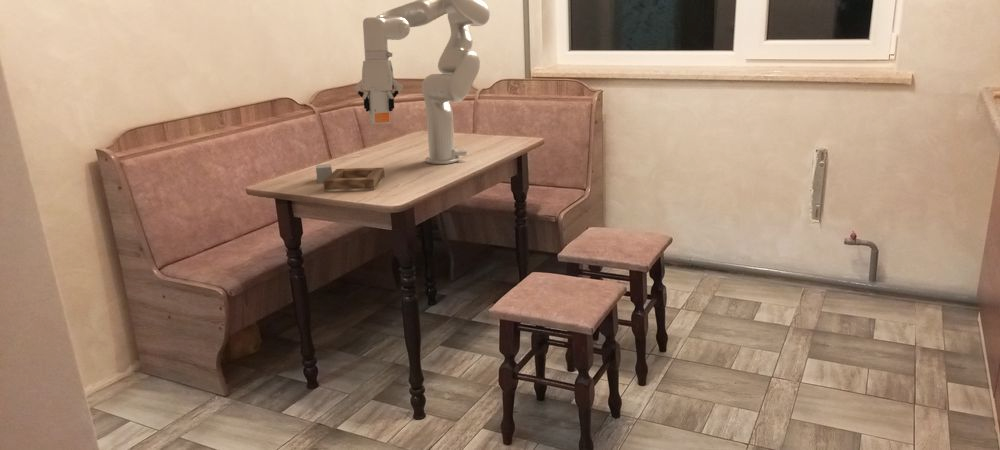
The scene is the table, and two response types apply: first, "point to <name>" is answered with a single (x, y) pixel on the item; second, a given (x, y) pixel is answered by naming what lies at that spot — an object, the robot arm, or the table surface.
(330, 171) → the grey cube
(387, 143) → the table surface
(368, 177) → the socket block
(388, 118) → the skincare box
